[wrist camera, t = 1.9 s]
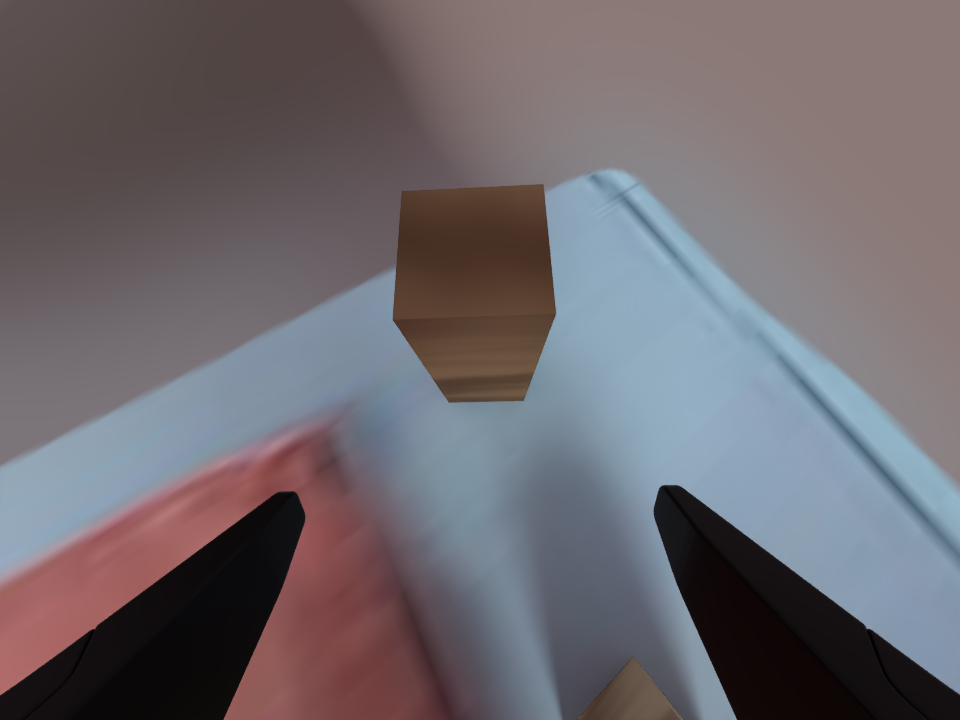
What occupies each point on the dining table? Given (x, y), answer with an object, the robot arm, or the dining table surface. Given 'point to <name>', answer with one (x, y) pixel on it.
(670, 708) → the birch block
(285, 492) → the robot arm
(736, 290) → the dining table surface
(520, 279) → the walnut pillar
